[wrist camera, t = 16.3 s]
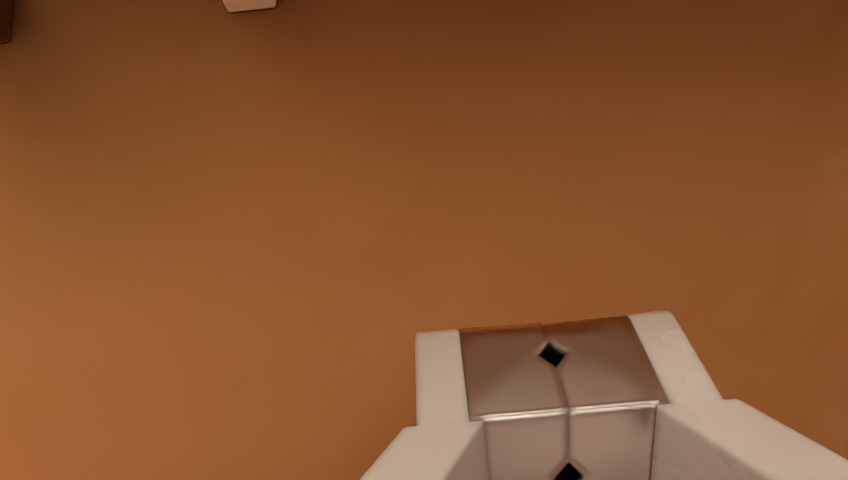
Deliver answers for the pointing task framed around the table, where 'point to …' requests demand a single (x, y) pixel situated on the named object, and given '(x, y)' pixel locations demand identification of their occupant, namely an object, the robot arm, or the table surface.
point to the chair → (247, 4)
